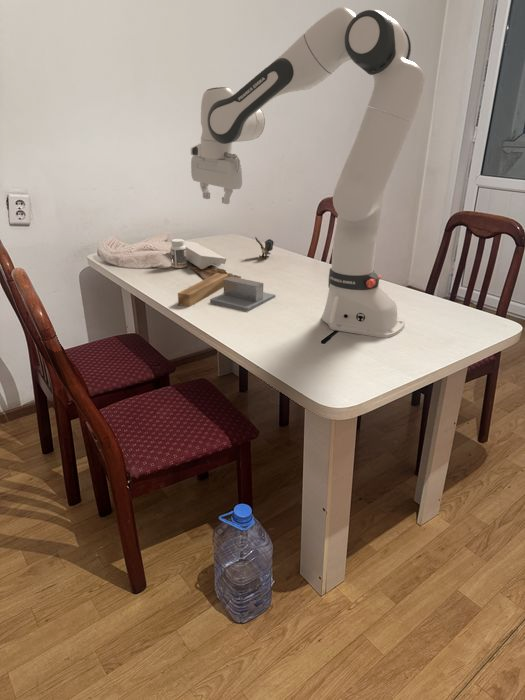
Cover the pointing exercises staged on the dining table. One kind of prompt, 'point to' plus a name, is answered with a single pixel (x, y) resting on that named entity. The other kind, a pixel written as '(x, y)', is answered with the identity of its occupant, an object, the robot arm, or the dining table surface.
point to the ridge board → (240, 302)
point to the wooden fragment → (211, 272)
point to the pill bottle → (178, 253)
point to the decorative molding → (202, 255)
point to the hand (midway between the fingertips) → (215, 201)
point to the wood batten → (201, 290)
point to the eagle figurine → (267, 248)
